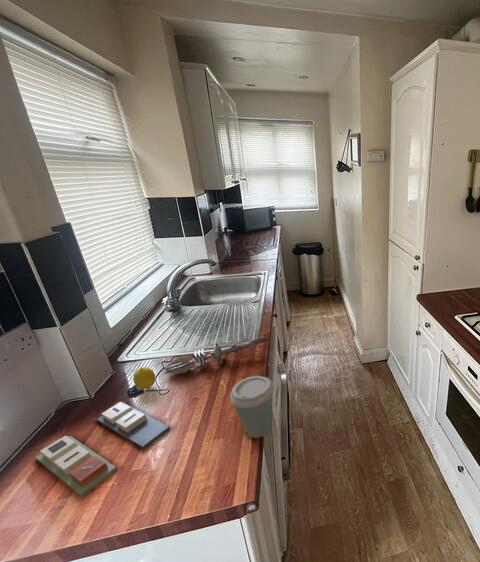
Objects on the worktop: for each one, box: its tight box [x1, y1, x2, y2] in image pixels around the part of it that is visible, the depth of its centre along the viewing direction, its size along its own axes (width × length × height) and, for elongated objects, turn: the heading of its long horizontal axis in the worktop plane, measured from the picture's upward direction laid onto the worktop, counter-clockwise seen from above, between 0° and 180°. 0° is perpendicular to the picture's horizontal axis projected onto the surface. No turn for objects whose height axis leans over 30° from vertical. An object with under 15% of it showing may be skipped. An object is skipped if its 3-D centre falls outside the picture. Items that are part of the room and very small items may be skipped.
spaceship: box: [163, 336, 270, 375], centre depth 110 cm, size 8×35×8 cm
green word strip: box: [34, 435, 118, 498], centre depth 75 cm, size 22×7×3 cm, turn 65°
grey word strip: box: [96, 401, 171, 450], centre depth 86 cm, size 22×7×3 cm, turn 65°
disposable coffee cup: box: [229, 375, 275, 439], centre depth 81 cm, size 11×11×15 cm
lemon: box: [132, 366, 156, 390], centre depth 99 cm, size 6×6×8 cm
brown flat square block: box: [69, 455, 108, 487], centre depth 72 cm, size 5×5×2 cm
